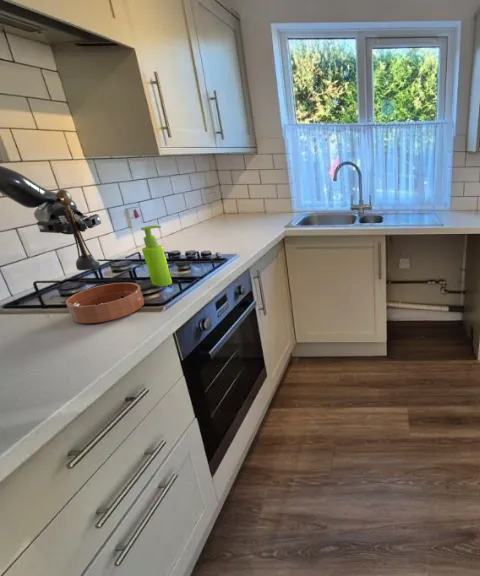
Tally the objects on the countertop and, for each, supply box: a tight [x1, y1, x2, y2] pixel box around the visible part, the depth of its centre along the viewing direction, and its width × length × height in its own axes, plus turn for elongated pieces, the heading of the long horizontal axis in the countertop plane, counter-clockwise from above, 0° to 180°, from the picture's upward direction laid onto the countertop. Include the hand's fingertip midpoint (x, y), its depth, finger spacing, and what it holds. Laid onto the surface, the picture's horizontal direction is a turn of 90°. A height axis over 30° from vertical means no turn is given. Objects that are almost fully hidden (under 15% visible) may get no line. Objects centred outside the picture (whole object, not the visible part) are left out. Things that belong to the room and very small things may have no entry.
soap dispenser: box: [140, 224, 173, 287], centre depth 120 cm, size 6×7×20 cm
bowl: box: [64, 282, 145, 324], centre depth 104 cm, size 17×17×6 cm
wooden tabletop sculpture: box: [56, 189, 101, 271], centre depth 91 cm, size 6×5×20 cm
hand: (77, 228), depth 89 cm, fingers closed on wooden tabletop sculpture, 1 cm apart
